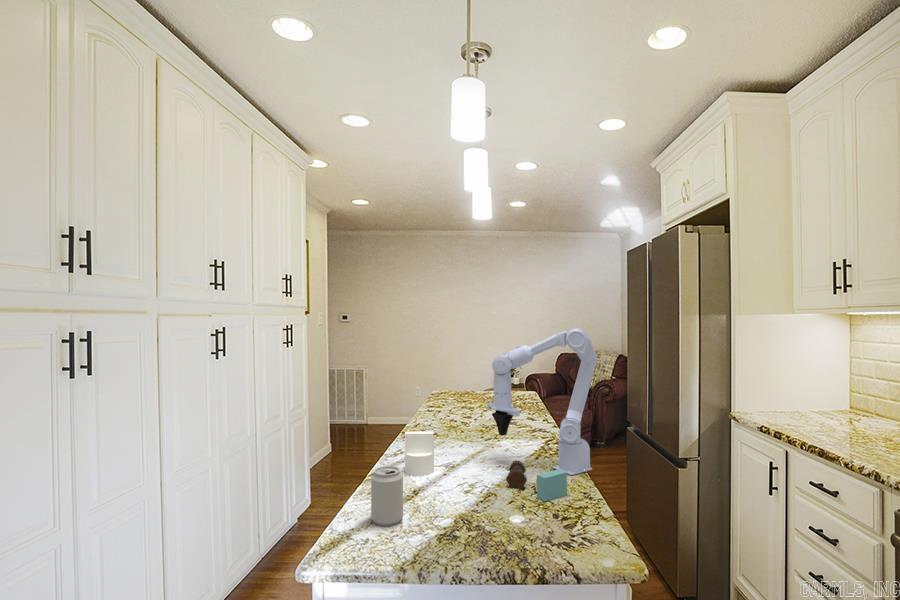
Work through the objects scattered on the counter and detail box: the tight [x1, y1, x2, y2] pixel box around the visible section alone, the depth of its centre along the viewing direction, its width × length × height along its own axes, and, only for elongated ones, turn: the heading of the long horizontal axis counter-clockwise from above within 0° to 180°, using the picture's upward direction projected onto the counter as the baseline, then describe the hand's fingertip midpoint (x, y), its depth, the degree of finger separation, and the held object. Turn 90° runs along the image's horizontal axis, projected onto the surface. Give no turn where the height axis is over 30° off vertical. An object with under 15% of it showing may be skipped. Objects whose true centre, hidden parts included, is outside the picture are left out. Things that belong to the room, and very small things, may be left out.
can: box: [370, 465, 404, 527], centre depth 111 cm, size 8×8×12 cm
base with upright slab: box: [404, 430, 435, 477], centre depth 145 cm, size 9×9×12 cm
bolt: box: [505, 460, 528, 490], centre depth 137 cm, size 6×5×15 cm
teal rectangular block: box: [535, 469, 568, 502], centre depth 126 cm, size 8×6×6 cm
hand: (502, 434), depth 151 cm, fingers closed
